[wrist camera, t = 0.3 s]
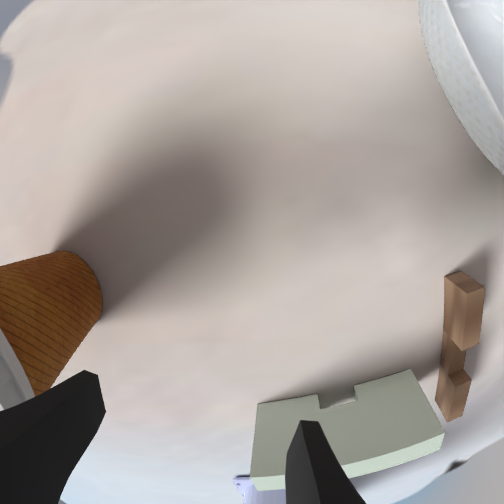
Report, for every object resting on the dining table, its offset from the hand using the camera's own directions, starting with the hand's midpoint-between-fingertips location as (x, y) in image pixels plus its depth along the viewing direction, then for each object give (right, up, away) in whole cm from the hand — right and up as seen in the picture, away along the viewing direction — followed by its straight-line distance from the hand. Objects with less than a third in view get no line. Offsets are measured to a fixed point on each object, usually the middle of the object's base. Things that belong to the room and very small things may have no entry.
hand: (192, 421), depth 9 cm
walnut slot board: (+17, -1, +9) cm, 20 cm away
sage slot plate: (+8, -5, +11) cm, 15 cm away
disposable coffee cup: (-12, +3, +11) cm, 16 cm away
